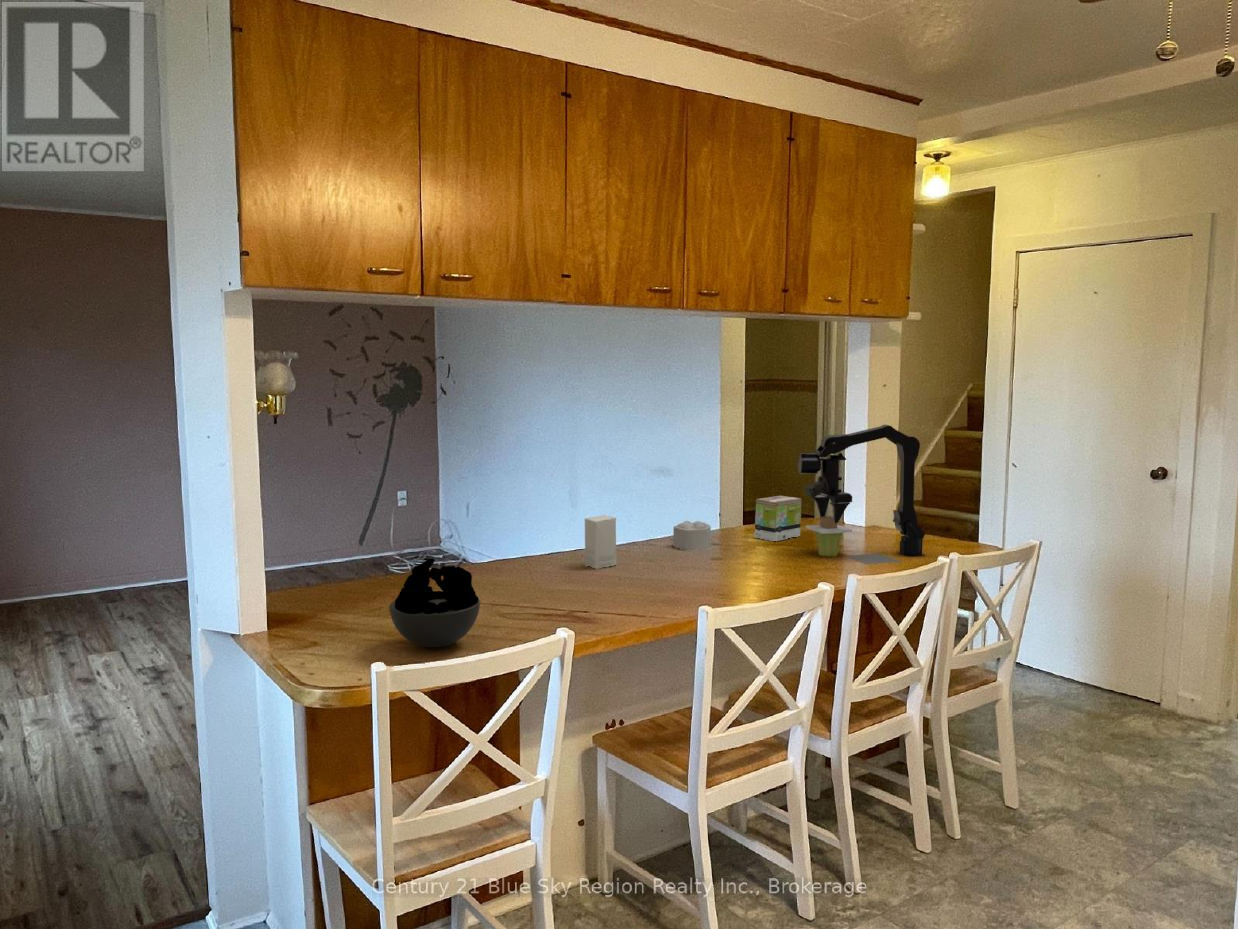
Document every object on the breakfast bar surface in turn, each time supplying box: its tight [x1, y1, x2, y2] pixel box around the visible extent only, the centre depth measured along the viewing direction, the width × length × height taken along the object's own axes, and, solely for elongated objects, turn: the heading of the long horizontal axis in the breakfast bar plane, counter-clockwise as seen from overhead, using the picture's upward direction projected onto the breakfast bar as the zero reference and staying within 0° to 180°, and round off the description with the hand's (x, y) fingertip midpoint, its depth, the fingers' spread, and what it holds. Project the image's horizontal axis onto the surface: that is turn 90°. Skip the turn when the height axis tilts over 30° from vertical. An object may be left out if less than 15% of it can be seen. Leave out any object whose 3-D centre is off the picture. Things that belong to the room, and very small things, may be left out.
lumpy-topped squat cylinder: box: [672, 520, 712, 551], centre depth 307 cm, size 10×13×9 cm
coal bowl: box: [388, 557, 481, 648], centre depth 198 cm, size 20×20×19 cm
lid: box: [805, 515, 853, 534], centre depth 291 cm, size 11×11×4 cm
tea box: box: [754, 495, 802, 542], centre depth 322 cm, size 15×10×15 cm
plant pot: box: [815, 531, 843, 557], centre depth 292 cm, size 9×9×9 cm
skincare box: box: [584, 514, 617, 569], centre depth 277 cm, size 8×7×16 cm
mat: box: [845, 552, 903, 565], centre depth 285 cm, size 13×13×1 cm
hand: (829, 520), depth 291 cm, fingers open, 9 cm apart
